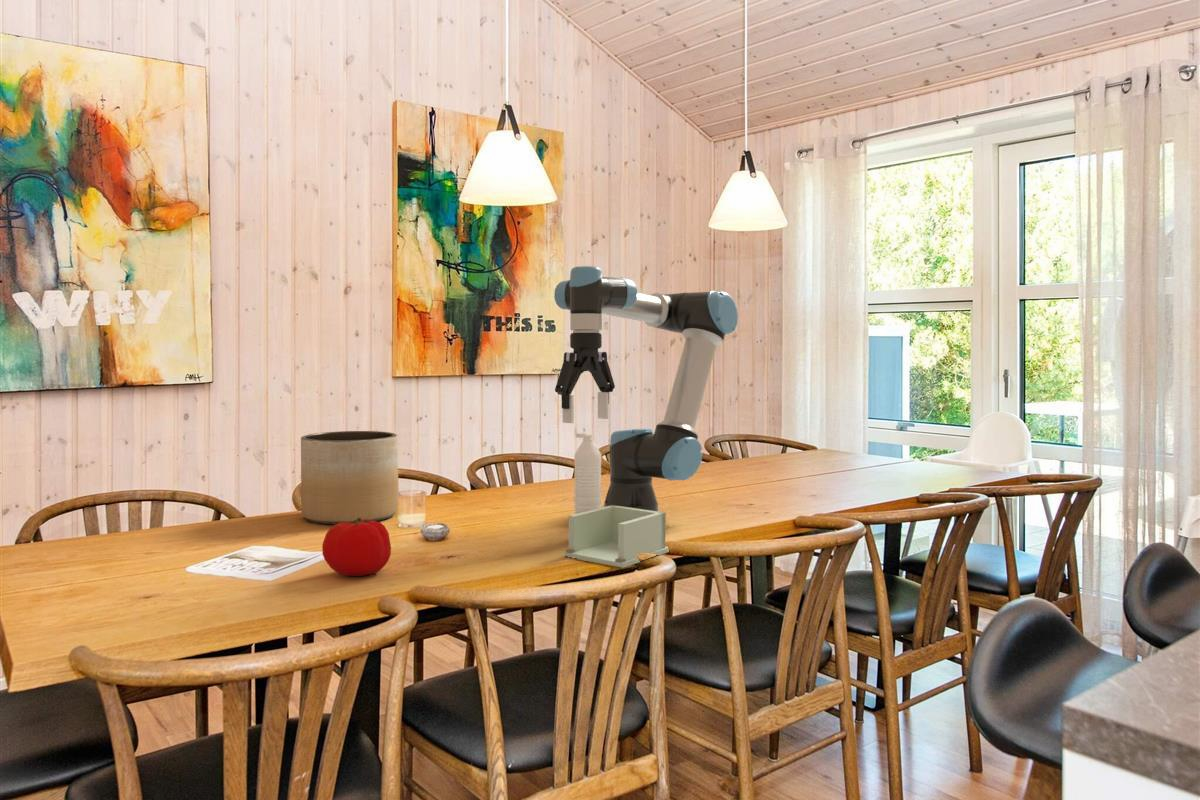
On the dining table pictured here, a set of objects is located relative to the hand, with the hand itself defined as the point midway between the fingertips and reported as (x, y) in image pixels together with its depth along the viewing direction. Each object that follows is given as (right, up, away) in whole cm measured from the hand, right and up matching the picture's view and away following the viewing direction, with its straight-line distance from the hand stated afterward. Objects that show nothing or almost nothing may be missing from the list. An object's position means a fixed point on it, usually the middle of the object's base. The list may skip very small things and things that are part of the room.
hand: (586, 420), depth 211 cm
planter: (-64, -27, +27) cm, 74 cm away
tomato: (-46, -31, -32) cm, 64 cm away
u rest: (+7, -29, -15) cm, 34 cm away
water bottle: (0, -29, +2) cm, 29 cm away
